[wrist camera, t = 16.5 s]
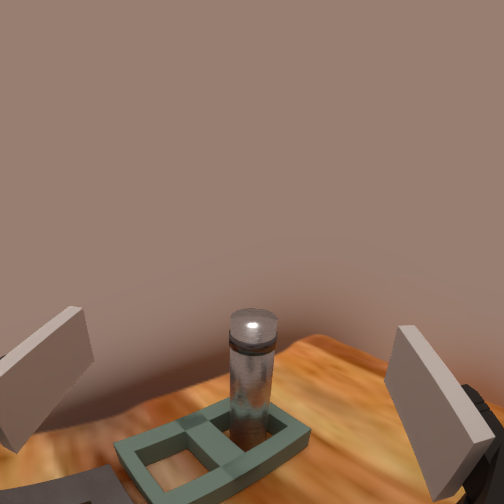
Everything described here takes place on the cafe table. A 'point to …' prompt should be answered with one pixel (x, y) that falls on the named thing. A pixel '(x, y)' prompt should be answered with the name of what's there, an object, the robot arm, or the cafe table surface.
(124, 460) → the frame
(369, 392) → the cafe table surface
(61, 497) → the socket block
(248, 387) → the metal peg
